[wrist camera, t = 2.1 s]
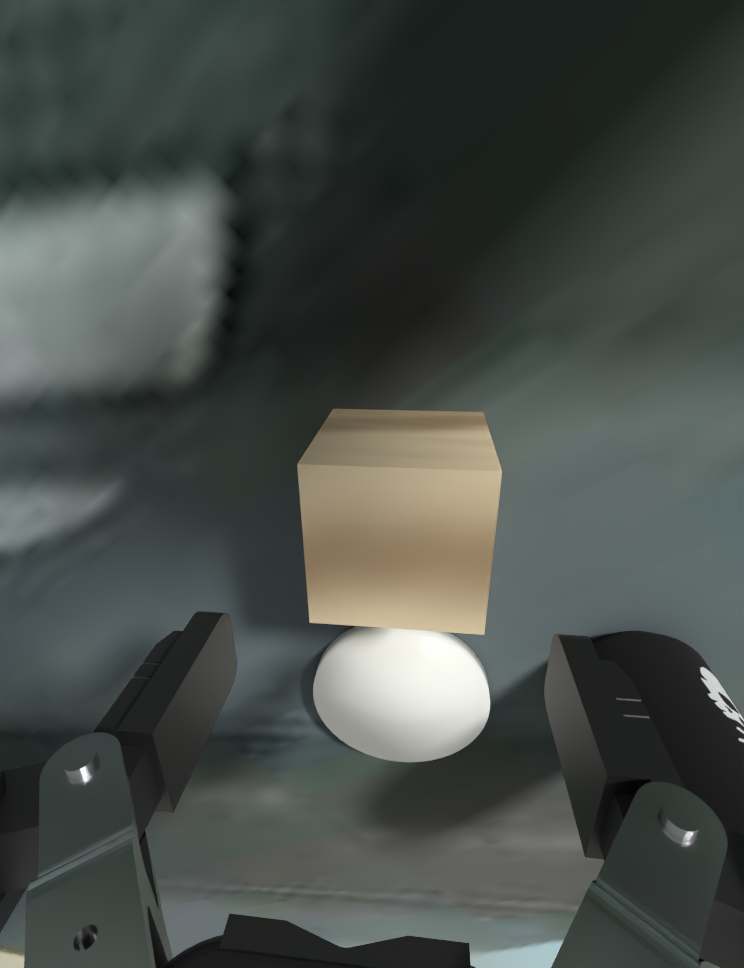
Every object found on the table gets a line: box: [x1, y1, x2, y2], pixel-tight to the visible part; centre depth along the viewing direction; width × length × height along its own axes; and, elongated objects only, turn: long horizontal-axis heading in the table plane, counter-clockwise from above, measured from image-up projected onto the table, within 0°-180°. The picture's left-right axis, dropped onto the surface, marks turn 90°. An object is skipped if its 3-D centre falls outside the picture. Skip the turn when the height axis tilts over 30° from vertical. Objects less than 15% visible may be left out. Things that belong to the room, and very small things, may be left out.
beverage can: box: [592, 631, 744, 968], centre depth 19 cm, size 7×7×12 cm
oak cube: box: [297, 409, 502, 635], centre depth 18 cm, size 6×6×6 cm
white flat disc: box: [313, 626, 490, 762], centre depth 26 cm, size 9×9×1 cm
